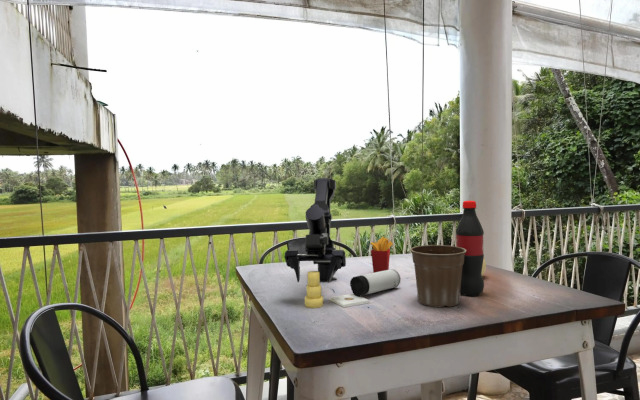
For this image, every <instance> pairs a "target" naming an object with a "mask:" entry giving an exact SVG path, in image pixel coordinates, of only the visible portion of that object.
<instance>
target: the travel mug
mask: <svg viewBox="0 0 640 400" xmlns="http://www.w3.org/2000/svg"><path fill="white" fill-rule="evenodd" d="M400 284H401V275H400V273H399V271H397V270H396V269H391V268H389V270H385V271H380V272H375V273H373V272H371V273H370V272H369V273H366V274H365V273H364V274H360V275H357V276H353V277H351V279H350V281H349V286H350V289H351V292H352V294H354V295H356V296H361V297H363V296H366V295H371V294H374V293H378V292H383V291H386V290H390V289H393V288H394V289H395V288H397V287H399V285H400Z"/></svg>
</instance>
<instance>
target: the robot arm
mask: <svg viewBox="0 0 640 400" xmlns="http://www.w3.org/2000/svg"><path fill="white" fill-rule="evenodd" d="M313 190H314V191H315V196H314V198H315V199H314V203H313V204H311V205H310V206H309V208H308V209H306V210H305V221H306V224H307V228H308V231H309V232H308V234H305V247H304V248H305V253H300V252H299V250H298V249H287V250H286V251H285V252H284V256H283V257H284V261H285V263H286V266H287V267H289V268H290V269H291V270H294V273H295V276H296V281H297V283H300V278H301V277H300V276H301V274H300V273H301V267H300V263H301V262H312V263H313V265H317V271H318V272H319V276H320V282H321V283H322V282H327V283H330V282H331V281H336V280H337V278H336V277H335V276H334V275H335V274H336V273H337V272H338V270H341V269H342V268H344V267H346V265H347V259H346V257H347V256H346V251H345V250H344V249H336V247H335V243H334V242H333V240H332V237H331V222H332V220H333V215H332V213H331V201H332V200H333V198H334V197H335V191H337V181H336V179H333V178H328V177H323V178H322V177H318V178H316V179H315V180H313Z"/></svg>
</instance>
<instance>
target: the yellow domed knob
mask: <svg viewBox="0 0 640 400" xmlns="http://www.w3.org/2000/svg"><path fill="white" fill-rule="evenodd" d="M320 282H321V281H320V276H319V272H318V270H310V271H307V285H306V288H305V289H306V295H305V296H304V307H306V308H308V309H317V308H319V309H320V308H322V307H324V296H323V295H322V285H321V283H320Z"/></svg>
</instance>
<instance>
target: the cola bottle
mask: <svg viewBox="0 0 640 400" xmlns="http://www.w3.org/2000/svg"><path fill="white" fill-rule="evenodd" d="M462 209H463V211H462V216H461V218H460V220H459V222H458V223H457V226H456V230H455V236H456V241H455V243H456V245H455V246H456V247H461V248H464V249H466V253H465V255H464V264H463V265H462V276H461V288H460V295H463V296H469V297H475V296H479V295H482V293H483V292H484V288H485V281H484V279H483V275H482V274H481V272H482V266H483V259H485V258H484V257H485V256H484V255H485V254H484V235H485V233H484V229H483V226H482V223H481V222H480V220H479V218H478V216H477V212H476V209H477V201H475V200H463V202H462Z"/></svg>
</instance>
